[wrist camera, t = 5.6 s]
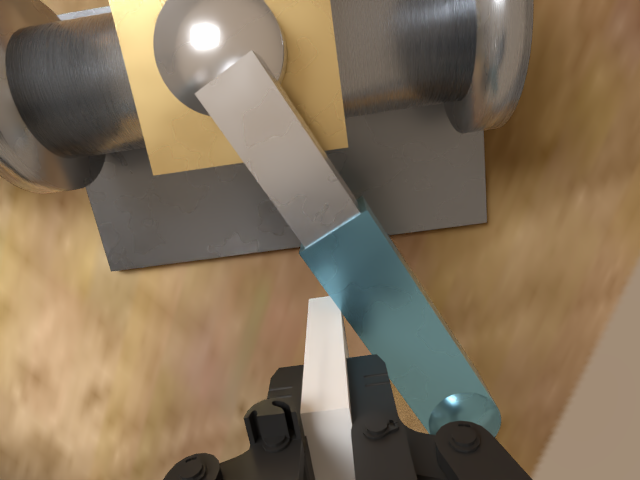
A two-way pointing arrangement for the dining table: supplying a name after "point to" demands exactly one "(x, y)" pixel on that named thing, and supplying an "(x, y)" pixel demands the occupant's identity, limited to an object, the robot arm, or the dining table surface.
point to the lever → (317, 201)
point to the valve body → (302, 89)
